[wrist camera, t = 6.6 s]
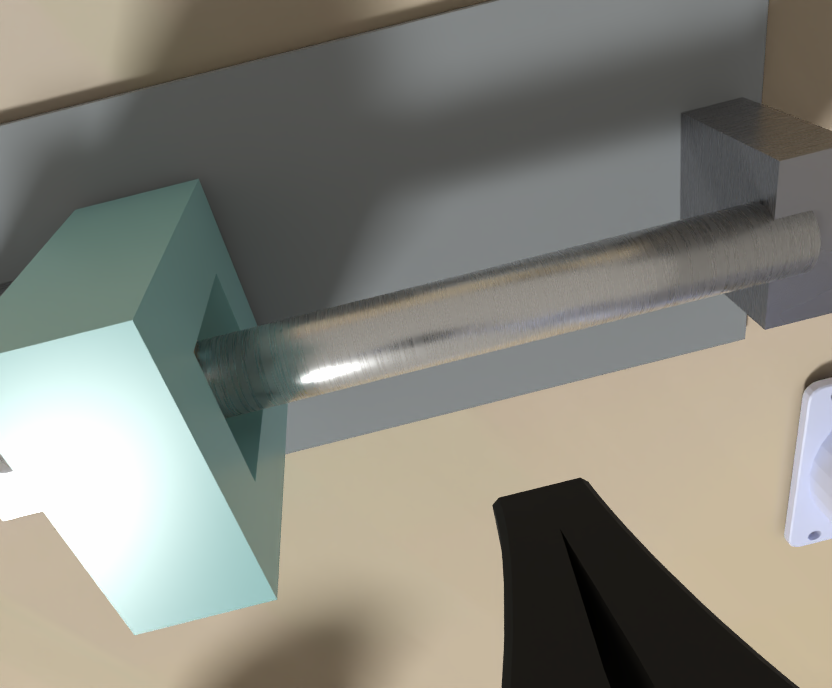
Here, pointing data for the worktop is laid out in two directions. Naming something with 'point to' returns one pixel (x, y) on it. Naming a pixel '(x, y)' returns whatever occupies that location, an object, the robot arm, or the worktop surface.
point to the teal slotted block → (141, 410)
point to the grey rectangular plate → (418, 174)
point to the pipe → (567, 277)
